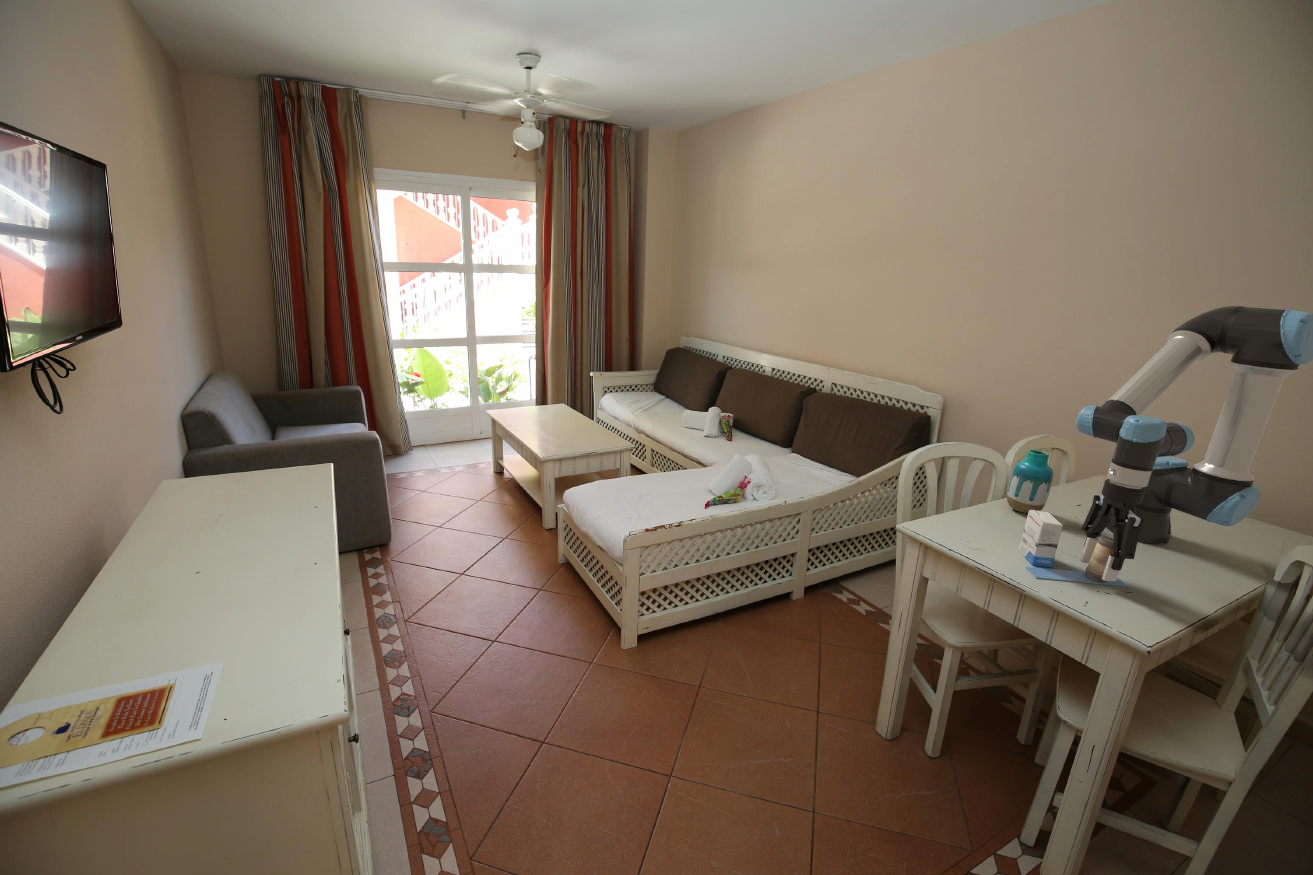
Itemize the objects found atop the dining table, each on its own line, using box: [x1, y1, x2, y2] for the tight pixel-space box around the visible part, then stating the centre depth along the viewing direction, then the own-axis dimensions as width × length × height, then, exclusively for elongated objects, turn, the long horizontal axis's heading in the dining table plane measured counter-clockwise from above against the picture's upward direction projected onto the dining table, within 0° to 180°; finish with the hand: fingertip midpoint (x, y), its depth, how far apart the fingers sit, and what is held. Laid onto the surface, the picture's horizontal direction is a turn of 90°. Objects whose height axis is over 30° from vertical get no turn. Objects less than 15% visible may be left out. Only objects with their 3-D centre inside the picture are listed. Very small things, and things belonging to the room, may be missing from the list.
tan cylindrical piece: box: [1084, 535, 1113, 583], centre depth 139 cm, size 5×5×10 cm
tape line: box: [1025, 566, 1129, 588], centre depth 141 cm, size 21×5×1 cm, turn 85°
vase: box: [1006, 449, 1054, 514], centre depth 176 cm, size 11×11×19 cm
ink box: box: [1018, 510, 1064, 568], centre depth 147 cm, size 9×5×12 cm, turn 169°
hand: (1097, 570), depth 140 cm, fingers open, 8 cm apart
